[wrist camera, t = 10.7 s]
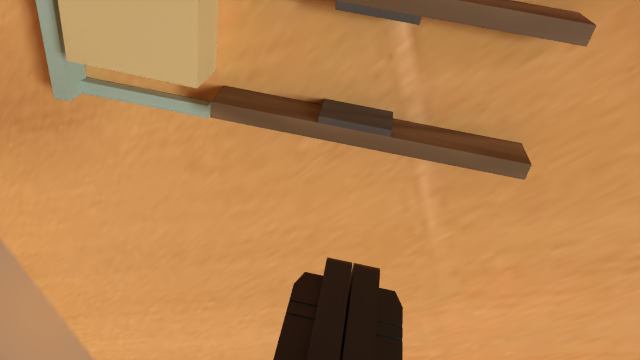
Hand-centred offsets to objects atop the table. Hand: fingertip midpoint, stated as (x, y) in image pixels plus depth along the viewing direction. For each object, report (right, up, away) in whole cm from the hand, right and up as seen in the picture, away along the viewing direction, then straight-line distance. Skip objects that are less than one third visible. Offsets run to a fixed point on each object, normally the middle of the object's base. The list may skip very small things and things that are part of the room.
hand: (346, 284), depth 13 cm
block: (-12, +14, +19) cm, 27 cm away
